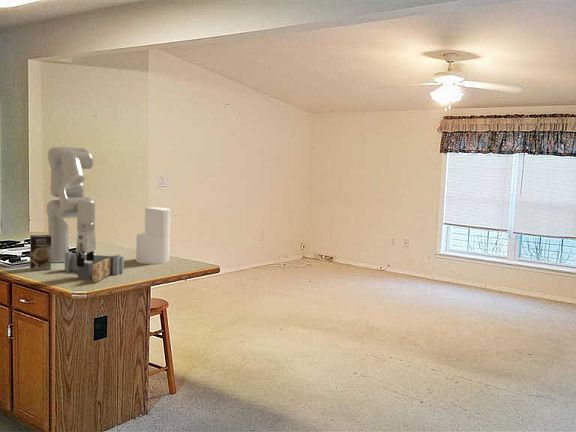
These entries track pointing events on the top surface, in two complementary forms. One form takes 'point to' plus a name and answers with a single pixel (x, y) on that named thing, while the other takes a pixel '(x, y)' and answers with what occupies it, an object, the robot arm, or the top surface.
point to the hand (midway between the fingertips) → (85, 264)
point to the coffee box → (40, 252)
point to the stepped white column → (154, 237)
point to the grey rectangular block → (85, 270)
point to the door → (102, 269)
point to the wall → (72, 262)
